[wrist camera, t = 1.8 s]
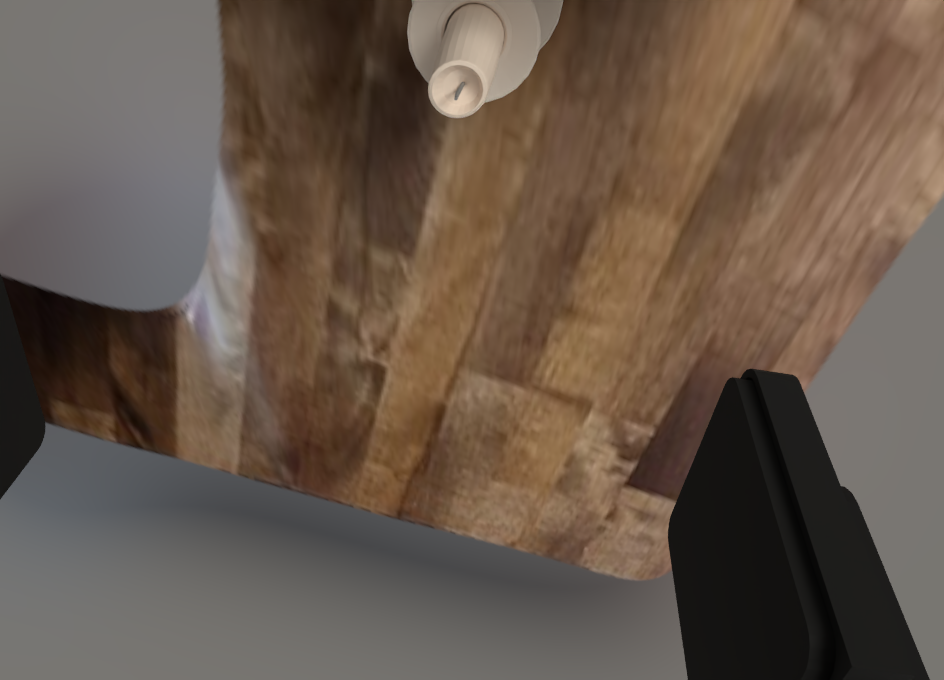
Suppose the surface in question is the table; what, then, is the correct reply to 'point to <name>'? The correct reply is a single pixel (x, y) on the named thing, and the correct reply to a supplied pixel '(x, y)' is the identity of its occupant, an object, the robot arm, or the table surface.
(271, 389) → the table surface
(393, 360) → the table surface
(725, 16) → the table surface
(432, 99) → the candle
